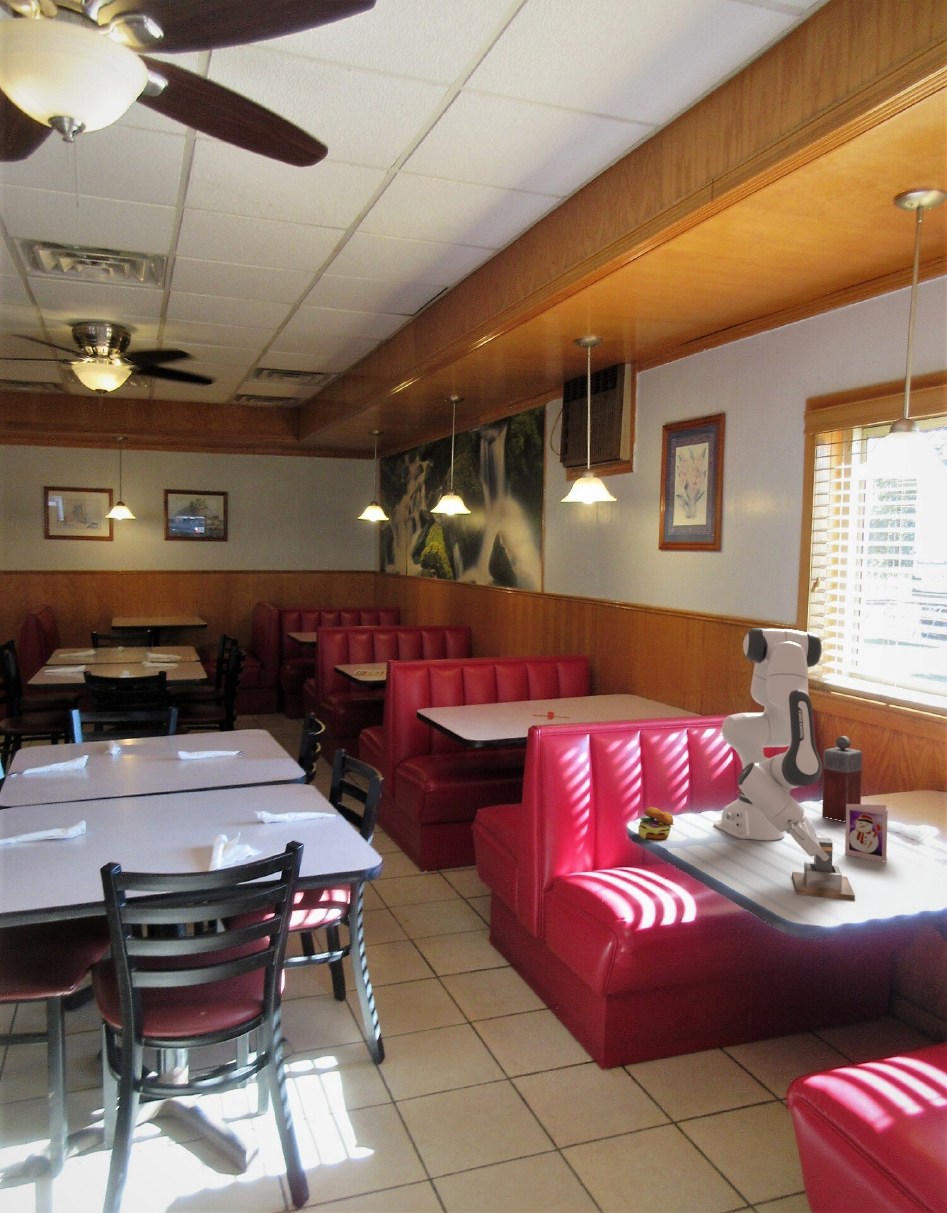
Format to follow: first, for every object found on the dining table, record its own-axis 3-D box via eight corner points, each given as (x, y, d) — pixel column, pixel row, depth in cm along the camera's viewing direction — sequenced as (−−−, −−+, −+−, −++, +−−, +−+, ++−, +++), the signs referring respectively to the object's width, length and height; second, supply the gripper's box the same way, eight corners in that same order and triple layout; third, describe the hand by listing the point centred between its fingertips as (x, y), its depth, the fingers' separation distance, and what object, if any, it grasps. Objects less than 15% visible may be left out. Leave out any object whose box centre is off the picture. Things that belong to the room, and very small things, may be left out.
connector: (815, 879, 230) (816, 841, 229) (813, 873, 234) (814, 837, 233) (831, 880, 229) (832, 843, 228) (829, 875, 233) (830, 838, 232)
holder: (796, 894, 227) (797, 874, 226) (792, 875, 240) (792, 857, 240) (854, 899, 223) (855, 879, 223) (846, 881, 236) (847, 862, 236)
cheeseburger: (629, 834, 277) (635, 802, 278) (653, 837, 282) (659, 806, 283) (651, 842, 268) (657, 809, 269) (676, 845, 274) (682, 813, 274)
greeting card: (844, 854, 259) (845, 804, 258) (851, 848, 264) (852, 799, 264) (885, 862, 251) (886, 811, 251) (892, 856, 257) (893, 806, 256)
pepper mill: (864, 817, 297) (866, 736, 296) (846, 823, 291) (848, 739, 290) (839, 811, 305) (841, 732, 303) (821, 816, 298) (823, 735, 297)
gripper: (800, 819, 222) (840, 860, 220) (793, 798, 242) (829, 836, 240) (781, 834, 224) (821, 876, 222) (775, 813, 243) (812, 851, 241)
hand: (825, 855), depth 231 cm, fingers closed on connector, 4 cm apart
